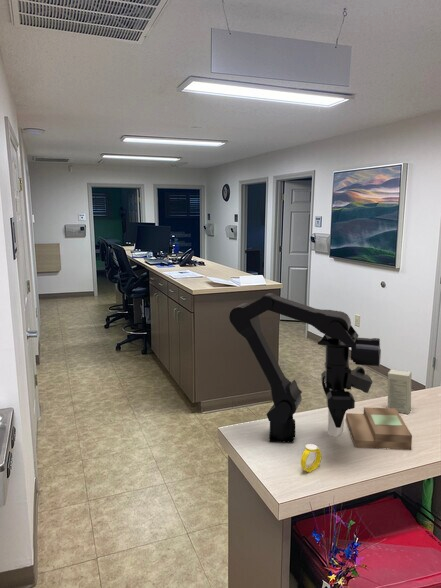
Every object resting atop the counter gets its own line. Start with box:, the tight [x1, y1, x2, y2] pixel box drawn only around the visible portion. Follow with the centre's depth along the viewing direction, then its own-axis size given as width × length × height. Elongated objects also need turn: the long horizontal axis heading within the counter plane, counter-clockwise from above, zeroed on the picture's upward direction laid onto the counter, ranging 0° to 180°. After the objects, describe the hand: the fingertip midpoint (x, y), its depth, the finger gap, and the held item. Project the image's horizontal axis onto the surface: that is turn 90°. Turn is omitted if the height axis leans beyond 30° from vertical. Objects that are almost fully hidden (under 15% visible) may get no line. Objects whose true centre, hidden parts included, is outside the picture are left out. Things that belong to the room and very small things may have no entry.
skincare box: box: [387, 368, 412, 415], centre depth 133 cm, size 6×4×12 cm
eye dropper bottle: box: [327, 410, 345, 438], centre depth 112 cm, size 4×6×12 cm
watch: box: [300, 443, 322, 473], centre depth 104 cm, size 6×3×6 cm, turn 128°
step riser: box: [345, 406, 413, 451], centre depth 120 cm, size 14×16×4 cm
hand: (336, 419), depth 113 cm, fingers closed on eye dropper bottle, 8 cm apart
